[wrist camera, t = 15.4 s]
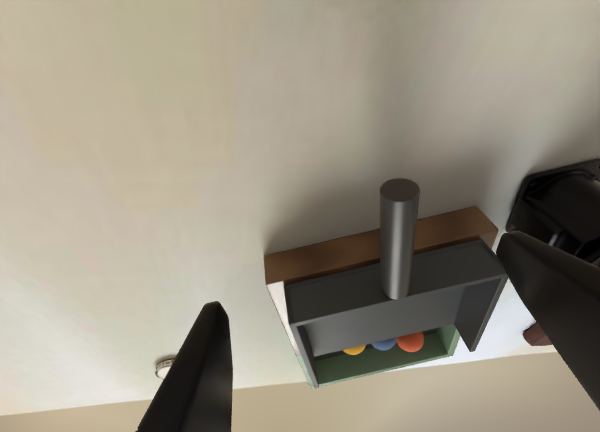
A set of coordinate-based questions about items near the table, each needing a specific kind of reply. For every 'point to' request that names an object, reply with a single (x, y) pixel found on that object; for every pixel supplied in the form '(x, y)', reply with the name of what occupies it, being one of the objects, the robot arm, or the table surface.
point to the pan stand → (367, 252)
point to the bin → (382, 357)
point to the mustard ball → (354, 350)
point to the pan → (396, 288)
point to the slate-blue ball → (385, 344)
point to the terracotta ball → (411, 341)
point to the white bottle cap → (163, 368)
